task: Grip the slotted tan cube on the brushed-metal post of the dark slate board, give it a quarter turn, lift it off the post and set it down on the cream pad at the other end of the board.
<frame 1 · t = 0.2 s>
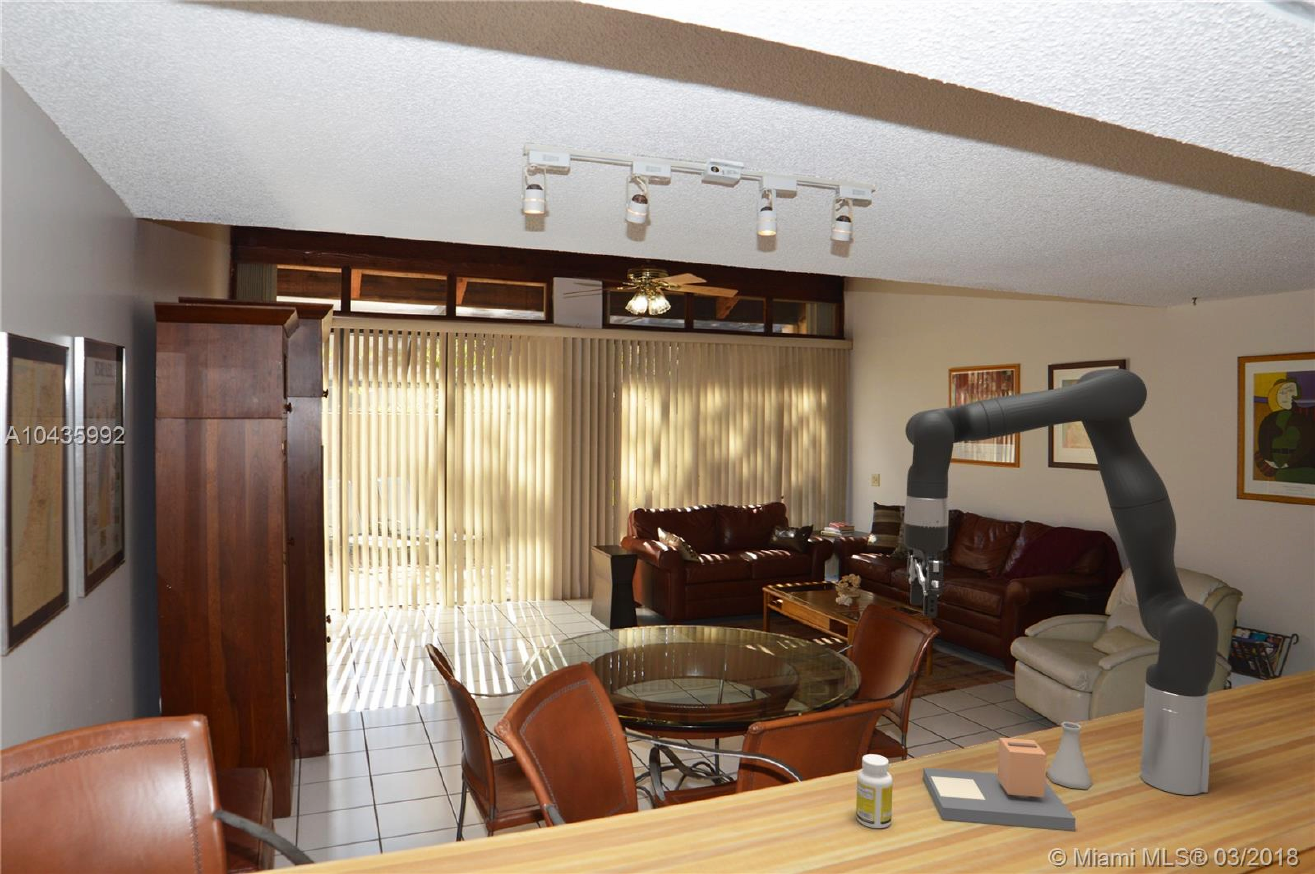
hand: (922, 610, 144), 29 cm above the breakfast bar, tool pointing down, fingers open, 8 cm apart
supplement bottle: (873, 821, 125), on the breakfast bar
post board: (994, 803, 132), on the breakfast bar
flask: (1068, 781, 141), on the breakfast bar
slotted tan cube: (1020, 787, 131), point 3 cm above the breakfast bar, touching post board
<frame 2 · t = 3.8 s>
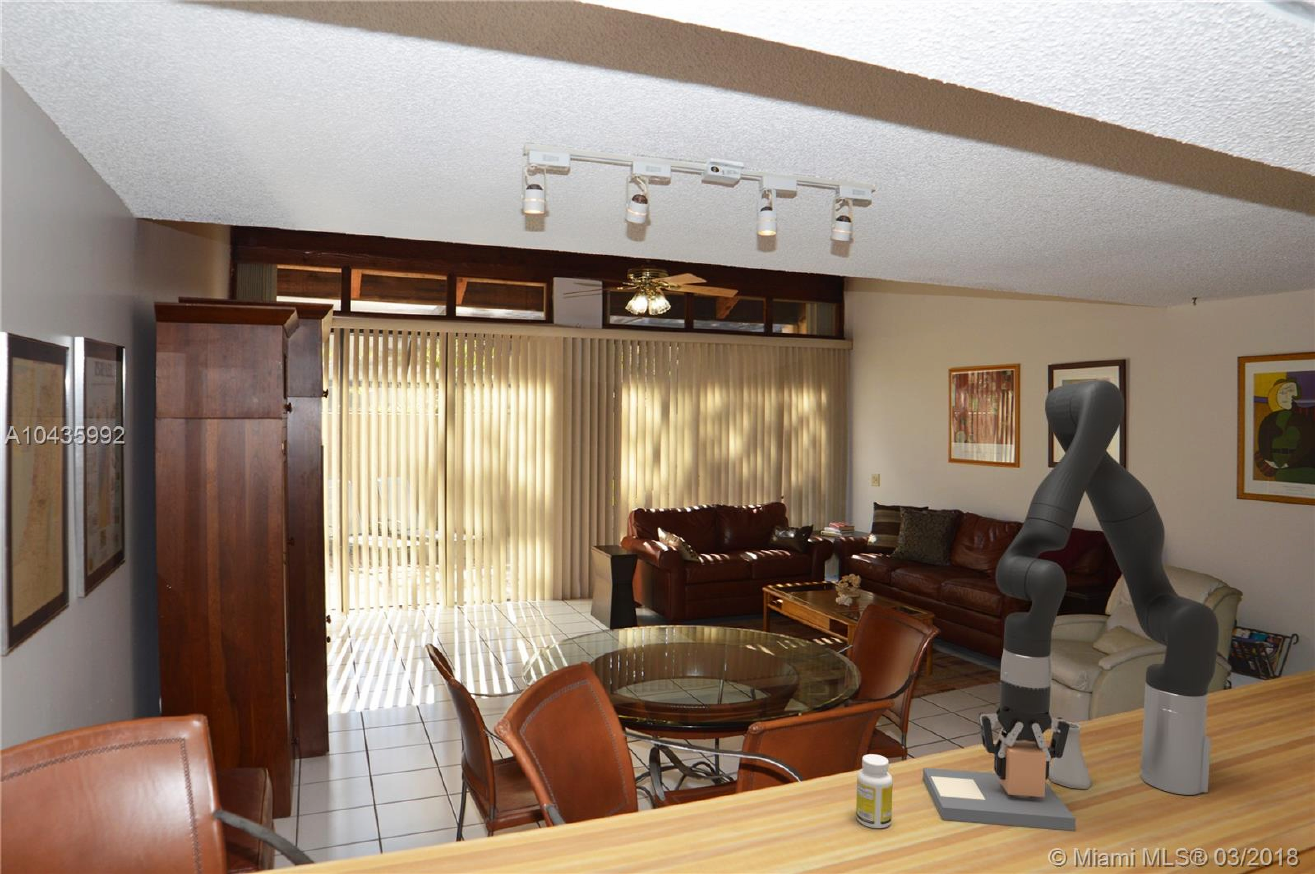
hand: (1020, 778, 131), 5 cm above the breakfast bar, tool pointing down, fingers closed on slotted tan cube, 5 cm apart
slotted tan cube: (1020, 787, 131), point 3 cm above the breakfast bar, touching gripper, post board
everything else where it was.
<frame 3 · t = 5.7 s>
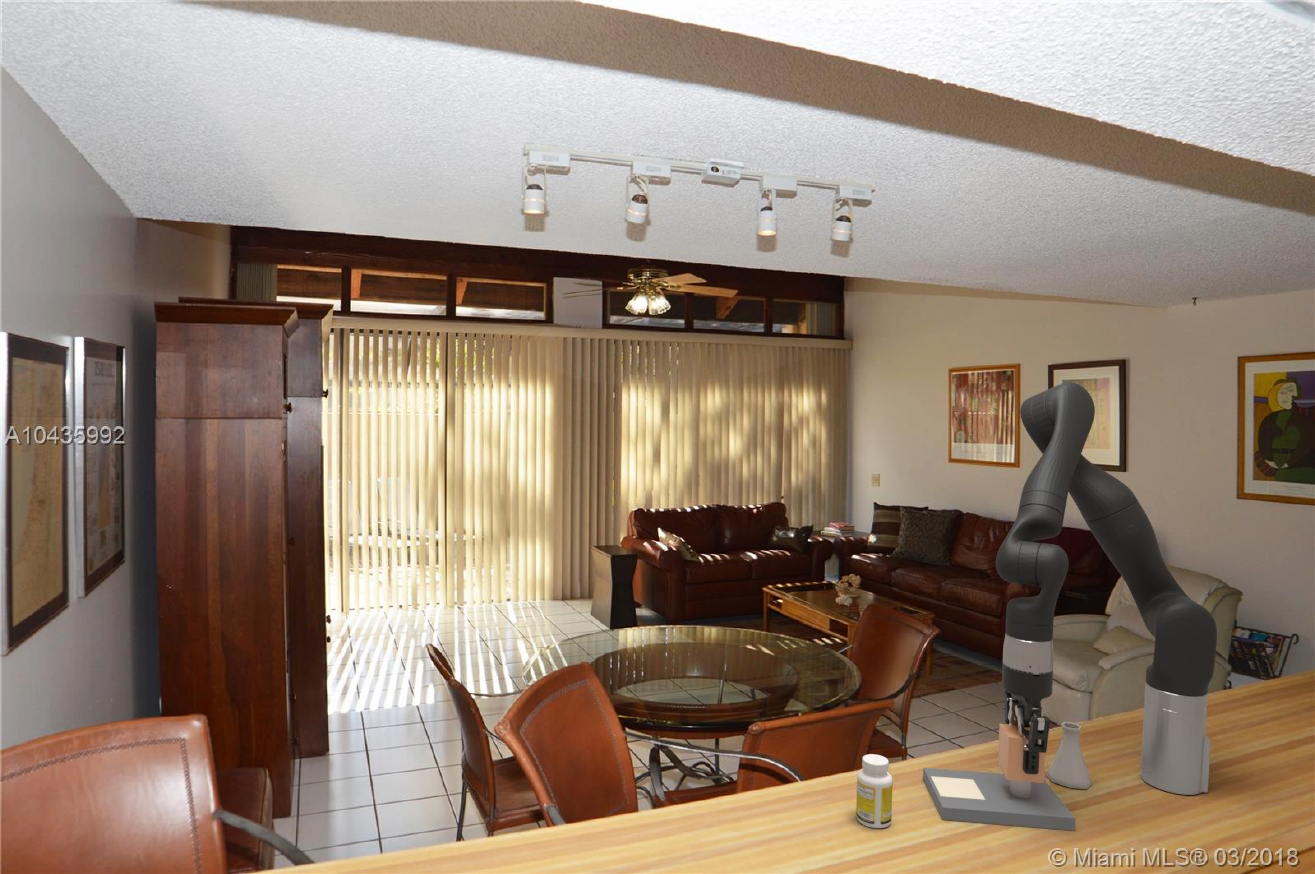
hand: (1023, 764, 131), 7 cm above the breakfast bar, tool pointing down, fingers closed on slotted tan cube, 5 cm apart
slotted tan cube: (1020, 773, 131), point 5 cm above the breakfast bar, touching gripper
everything else where it was.
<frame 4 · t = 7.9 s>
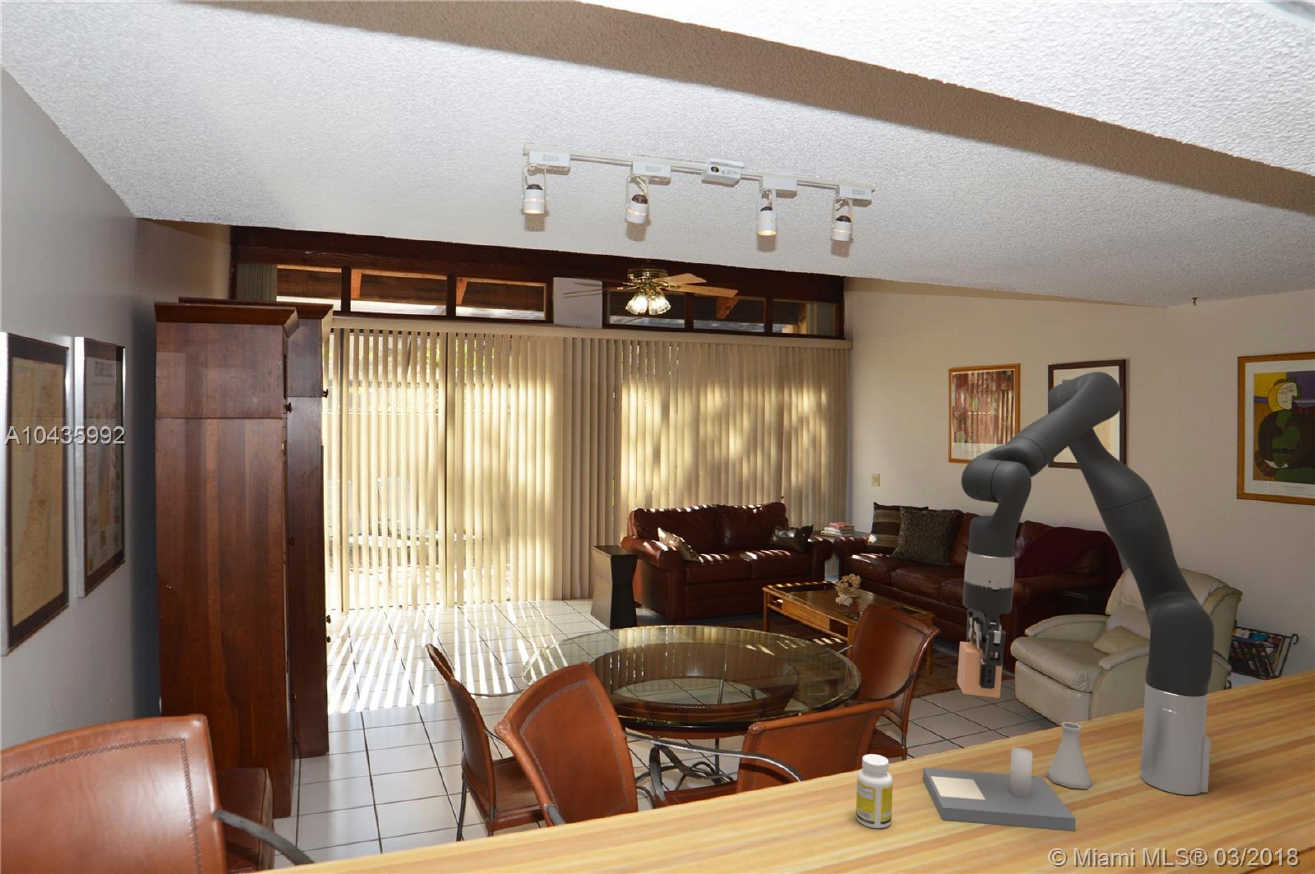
hand: (981, 680, 132), 20 cm above the breakfast bar, tool pointing down, fingers closed on slotted tan cube, 5 cm apart
slotted tan cube: (977, 689, 132), point 19 cm above the breakfast bar, touching gripper
everything else where it was.
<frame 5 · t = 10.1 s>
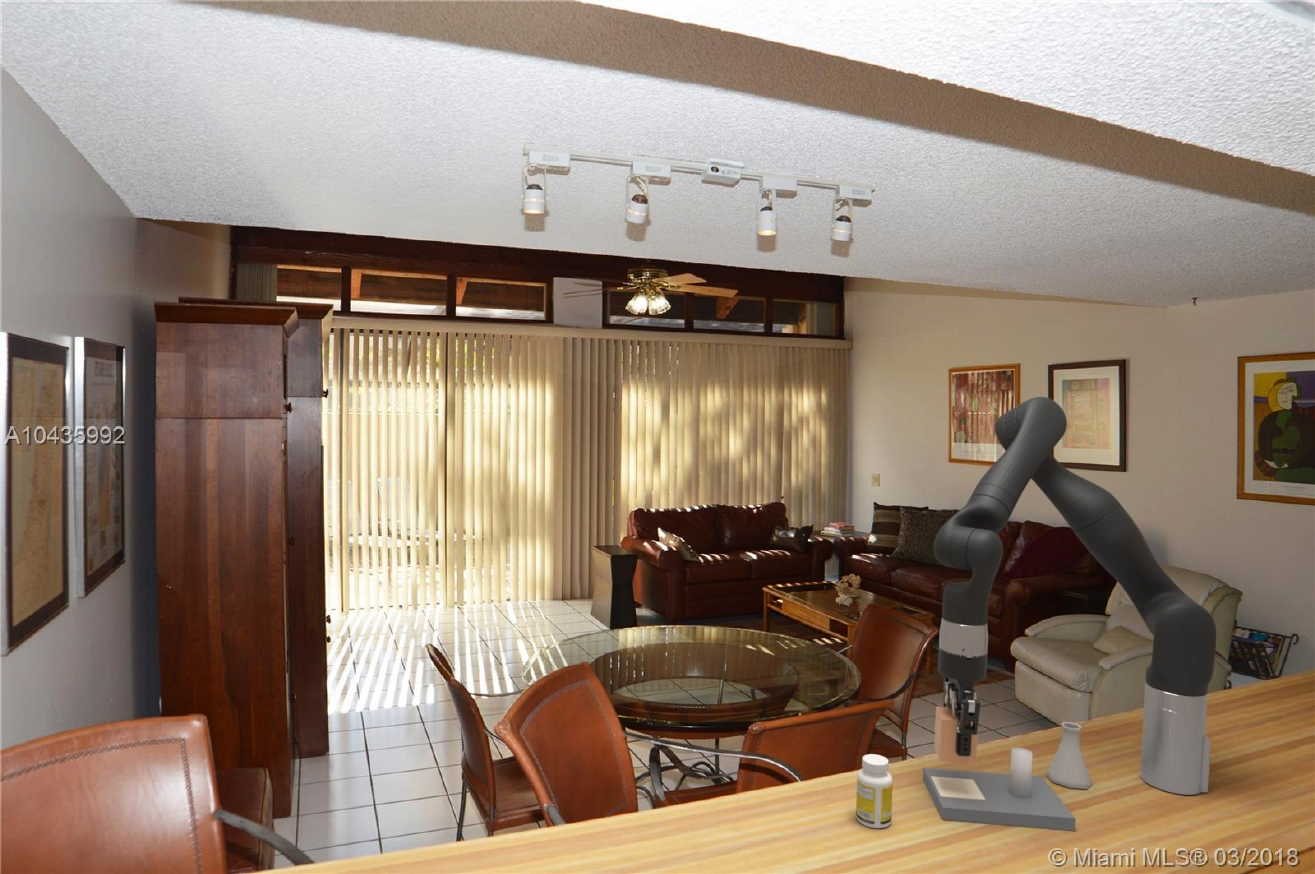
hand: (958, 746, 132), 9 cm above the breakfast bar, tool pointing down, fingers closed on slotted tan cube, 5 cm apart
slotted tan cube: (954, 755, 132), point 7 cm above the breakfast bar, touching gripper
everything else where it was.
when the fingers open (5 cm above the breakfast bar, at t = 11.9 s): slotted tan cube drops 1 cm, resting on post board.
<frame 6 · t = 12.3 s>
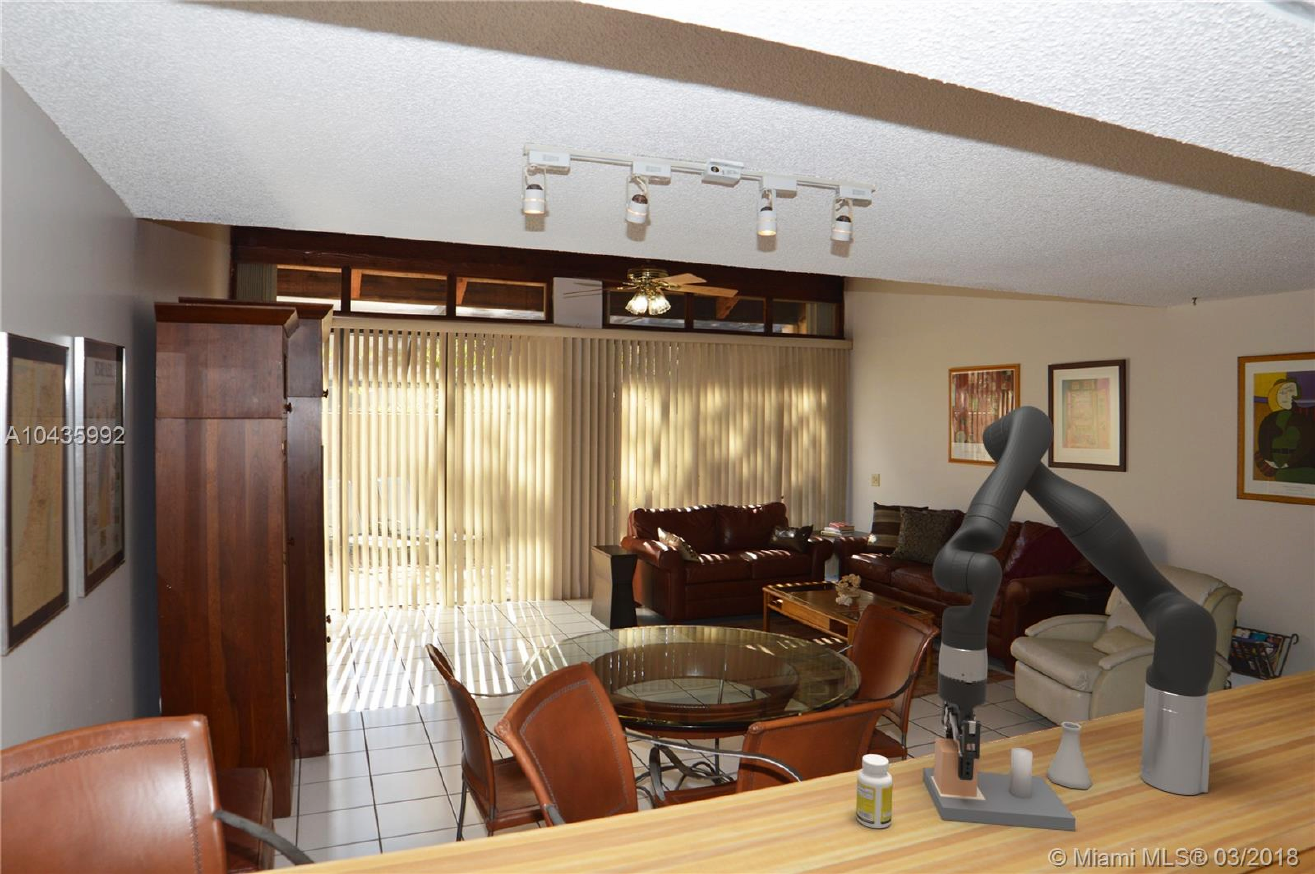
hand: (958, 767, 132), 6 cm above the breakfast bar, tool pointing down, fingers open, 8 cm apart
slotted tan cube: (954, 787, 132), point 2 cm above the breakfast bar, touching post board
everything else where it was.
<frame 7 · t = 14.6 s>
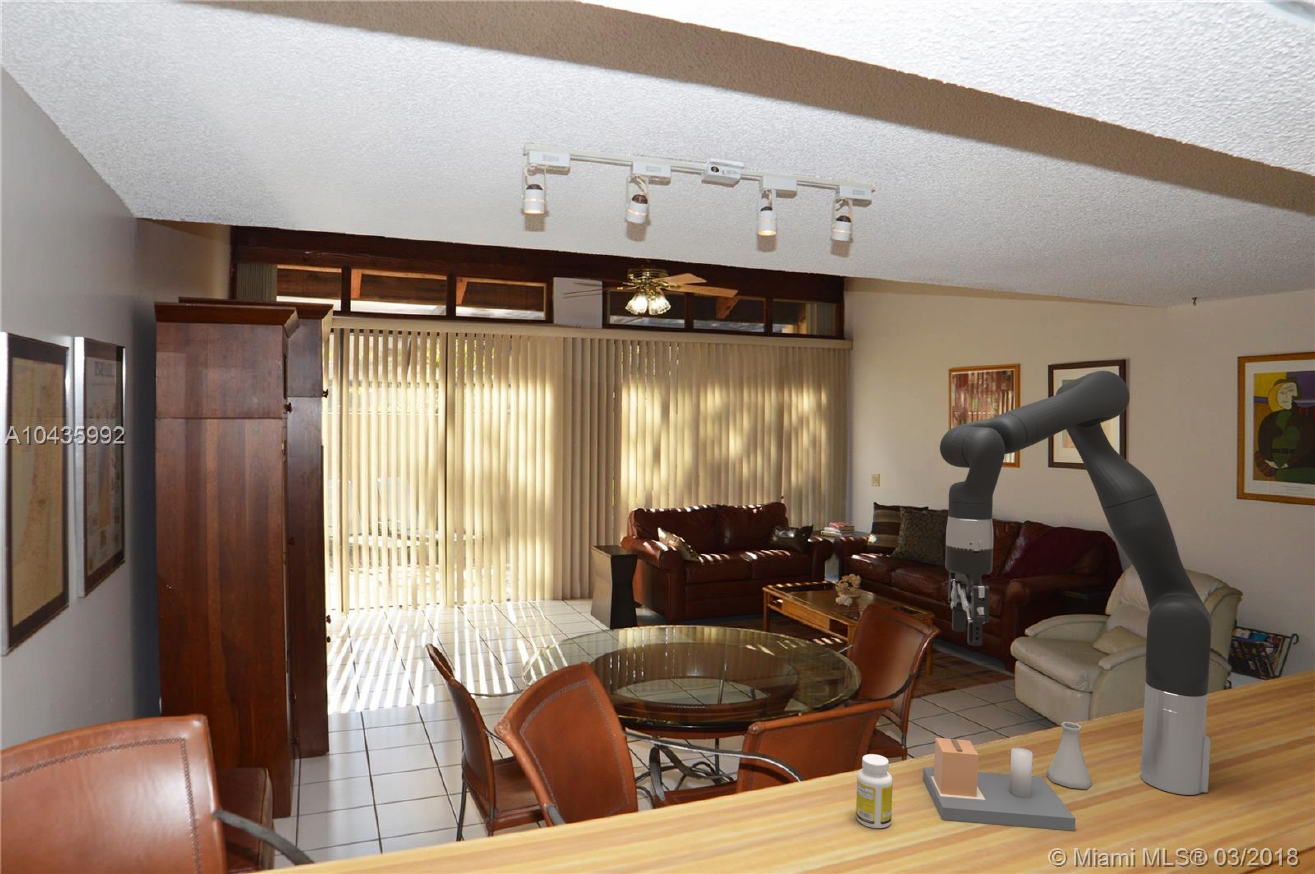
hand: (966, 638, 136), 26 cm above the breakfast bar, tool pointing down, fingers open, 8 cm apart
nothing on the breakfast bar moved.
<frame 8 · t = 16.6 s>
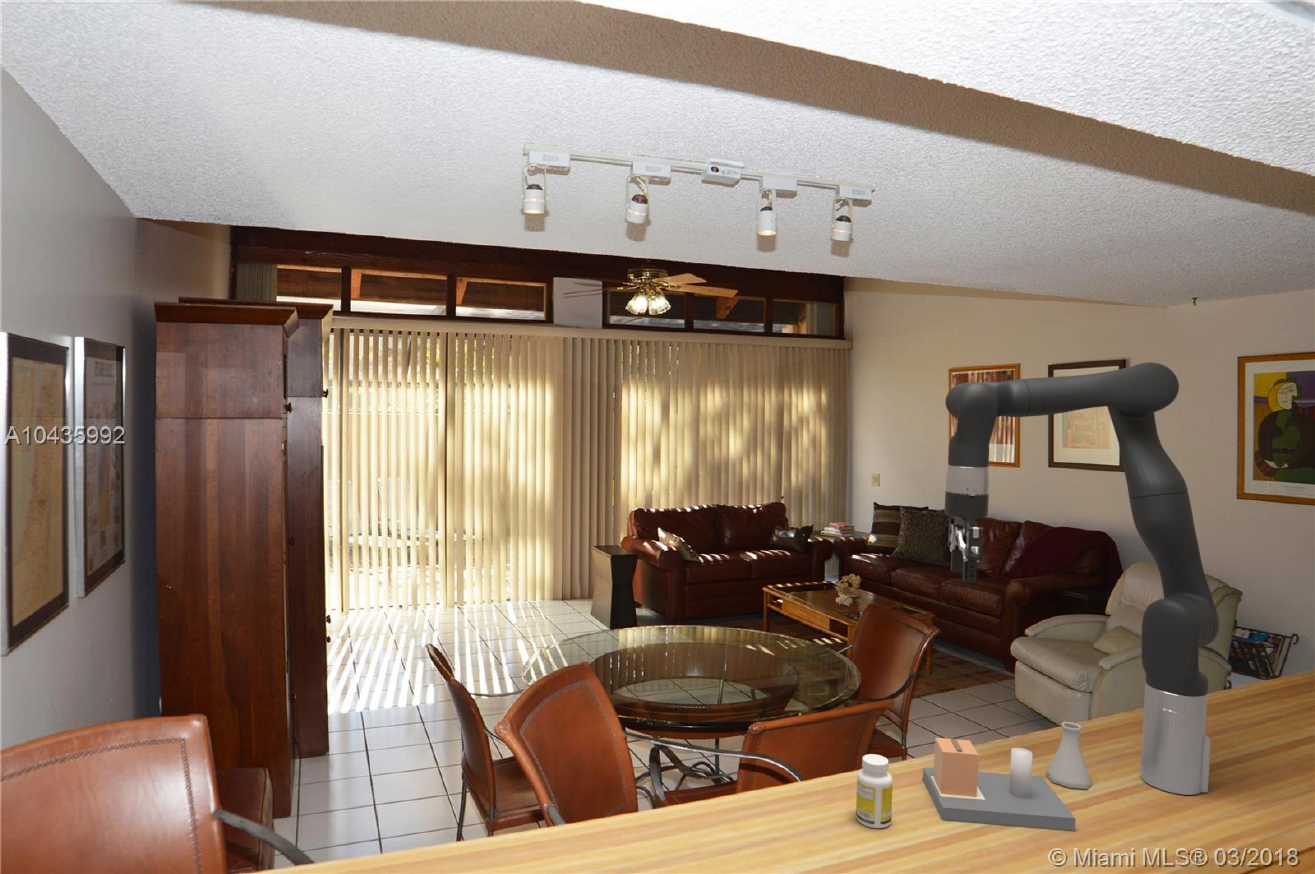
hand: (963, 577, 147), 34 cm above the breakfast bar, tool pointing down, fingers open, 8 cm apart
nothing on the breakfast bar moved.
at the end: slotted tan cube 0.4 cm from the target spot, point 2.1 cm above the breakfast bar; slotted tan cube tilted 0°; the gripper is holding nothing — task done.
